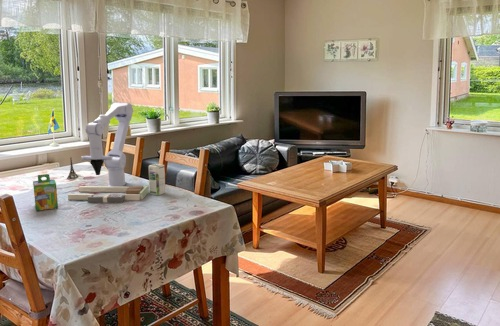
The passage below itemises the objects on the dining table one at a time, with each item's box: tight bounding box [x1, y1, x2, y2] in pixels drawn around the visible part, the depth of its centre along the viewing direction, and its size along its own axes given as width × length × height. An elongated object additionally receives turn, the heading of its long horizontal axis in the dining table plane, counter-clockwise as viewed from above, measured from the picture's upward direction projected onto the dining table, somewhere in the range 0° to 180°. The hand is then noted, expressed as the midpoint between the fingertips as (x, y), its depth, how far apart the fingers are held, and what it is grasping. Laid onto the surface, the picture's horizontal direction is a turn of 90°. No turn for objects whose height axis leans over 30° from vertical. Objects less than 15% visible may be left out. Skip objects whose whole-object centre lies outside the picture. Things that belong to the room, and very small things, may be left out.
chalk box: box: [32, 173, 59, 212], centre depth 197 cm, size 9×9×15 cm
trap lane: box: [67, 184, 150, 204], centre depth 213 cm, size 18×35×4 cm, turn 89°
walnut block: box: [125, 185, 144, 194], centre depth 215 cm, size 7×7×4 cm
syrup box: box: [148, 163, 166, 196], centre depth 217 cm, size 6×6×14 cm
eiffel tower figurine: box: [61, 157, 88, 180], centre depth 247 cm, size 15×10×13 cm
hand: (98, 174), depth 217 cm, fingers closed
